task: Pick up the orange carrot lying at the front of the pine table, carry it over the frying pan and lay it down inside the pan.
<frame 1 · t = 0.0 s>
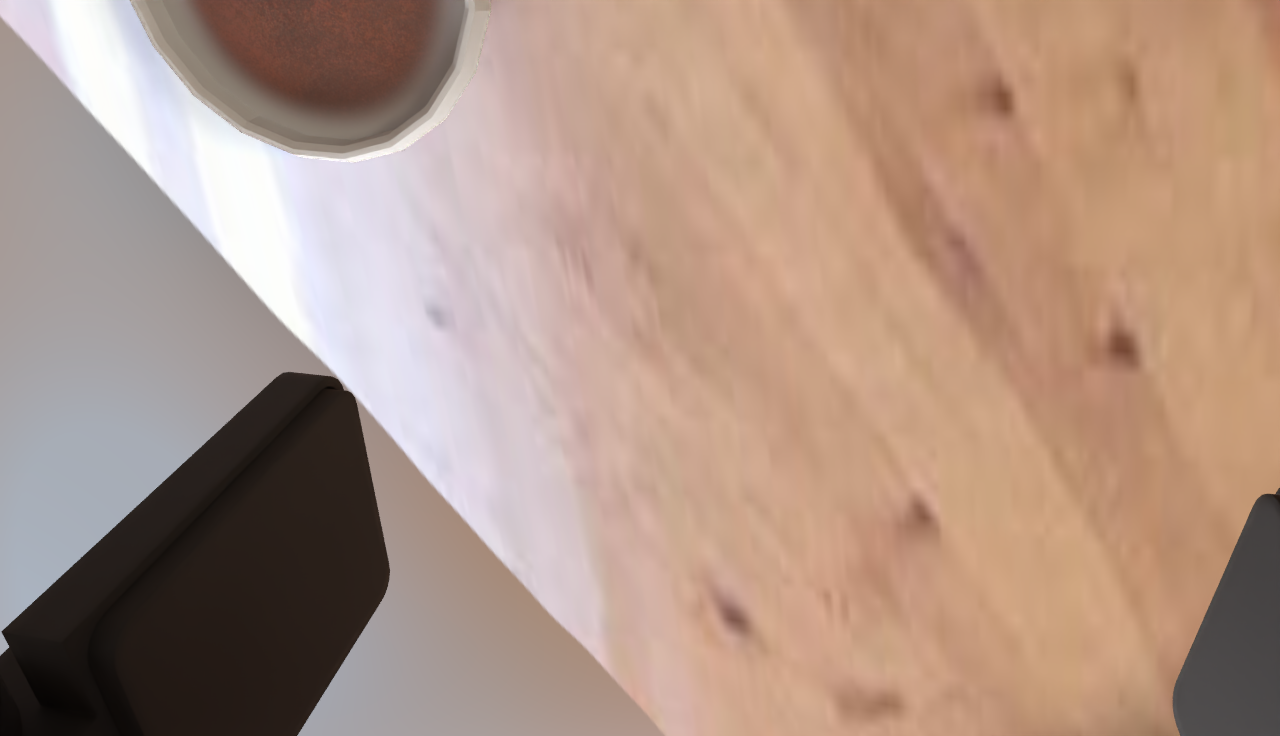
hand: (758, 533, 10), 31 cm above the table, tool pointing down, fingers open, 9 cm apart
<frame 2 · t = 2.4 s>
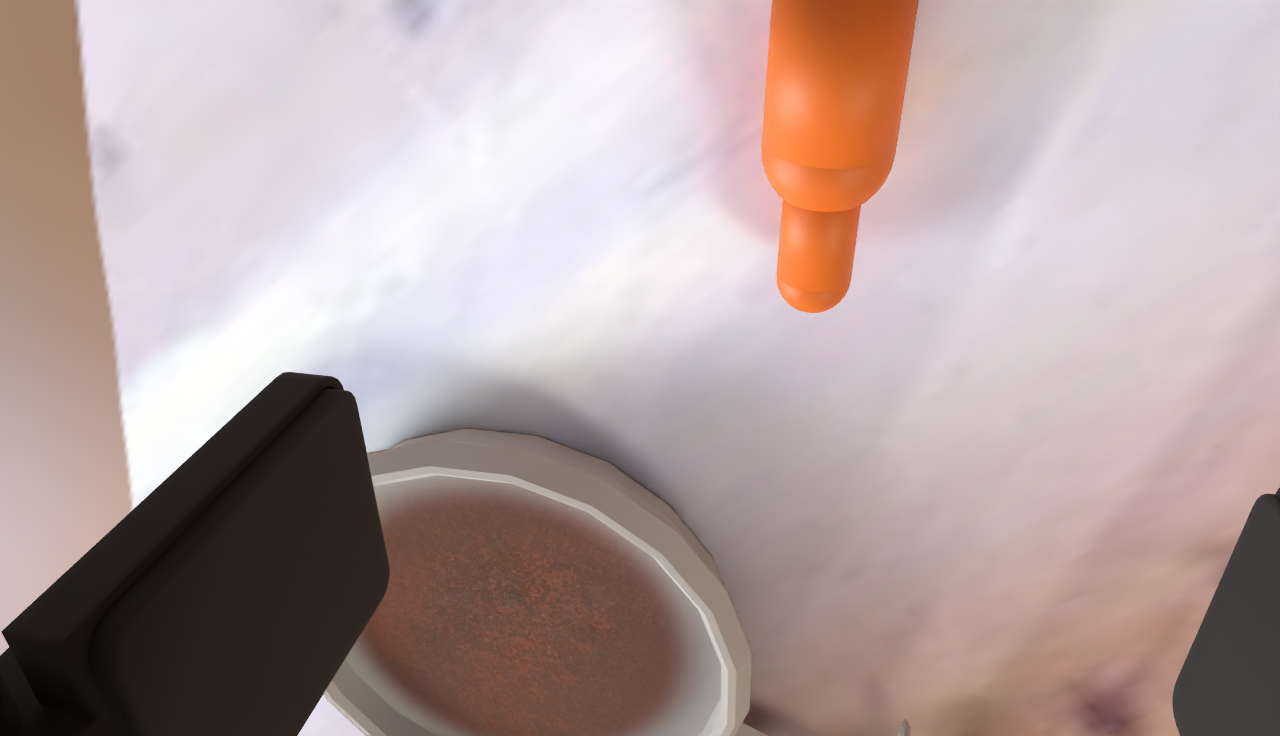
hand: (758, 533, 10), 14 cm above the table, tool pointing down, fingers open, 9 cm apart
frying pan: (658, 669, 33), on the table
carrot: (834, 96, 21), on the table
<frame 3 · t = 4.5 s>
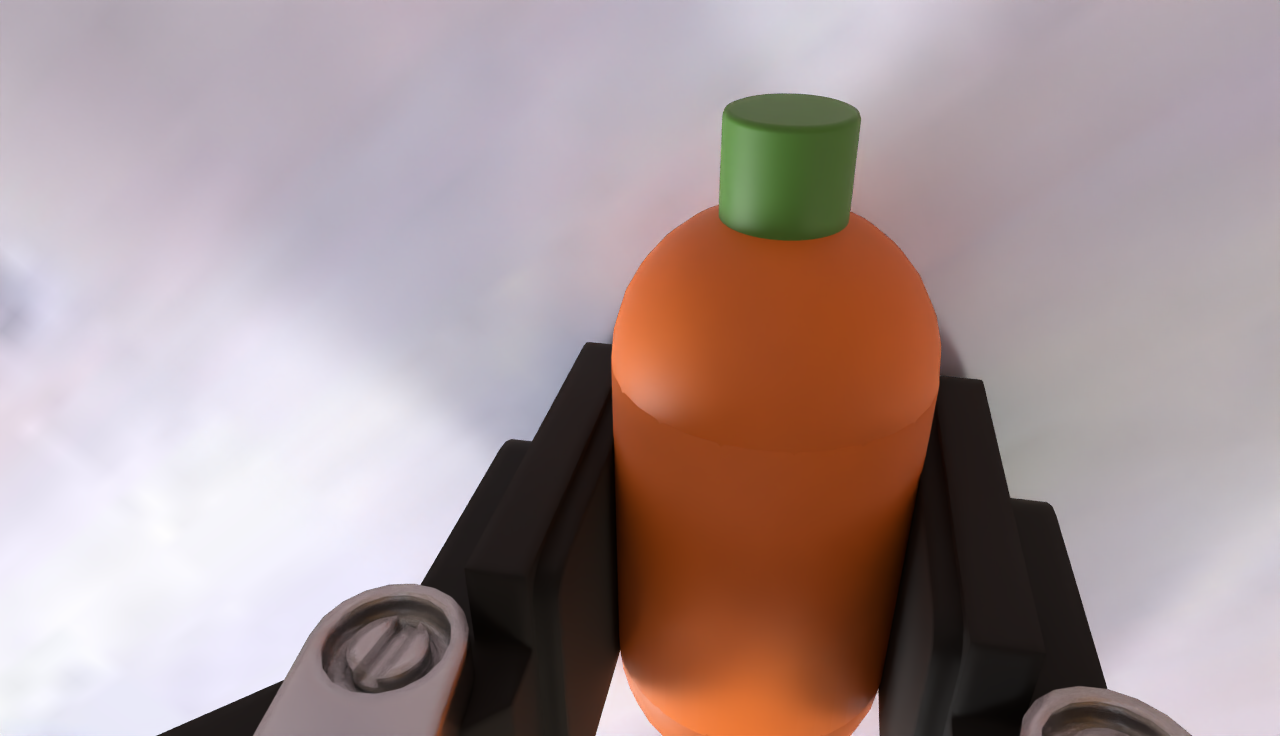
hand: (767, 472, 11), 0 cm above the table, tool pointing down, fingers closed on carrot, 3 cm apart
carrot: (766, 494, 11), on the table, touching gripper
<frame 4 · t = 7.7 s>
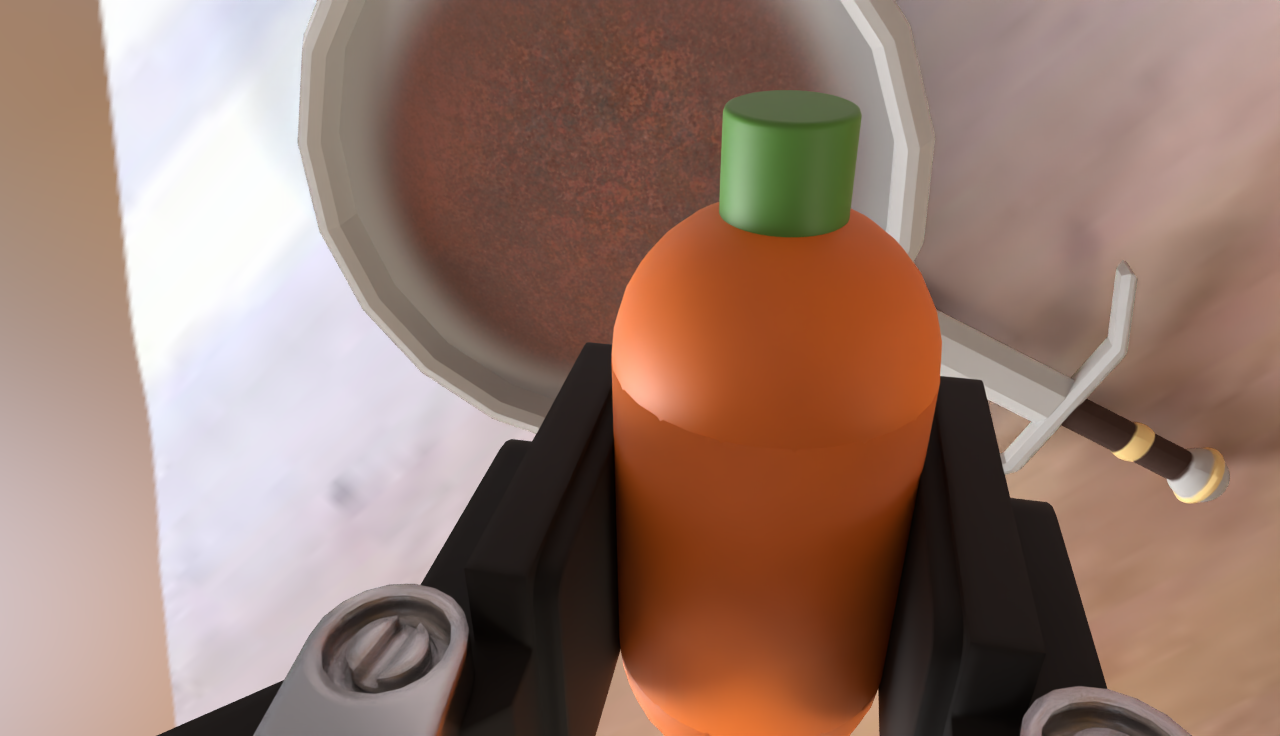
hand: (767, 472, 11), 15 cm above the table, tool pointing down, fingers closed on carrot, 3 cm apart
frying pan: (786, 248, 26), on the table
carrot: (766, 492, 11), point 15 cm above the table, touching gripper
when the fingers open (3 cm above the table, at t = 11.1 s): carrot stays where it is, resting on frying pan.
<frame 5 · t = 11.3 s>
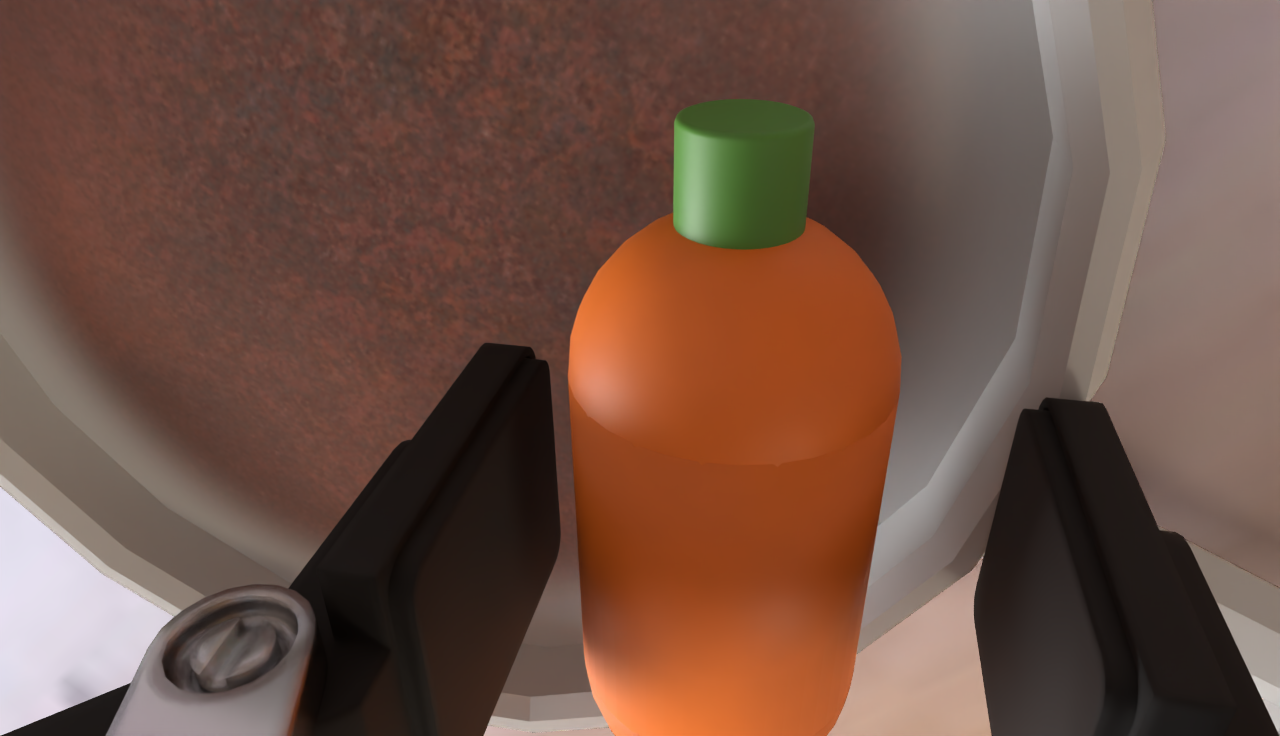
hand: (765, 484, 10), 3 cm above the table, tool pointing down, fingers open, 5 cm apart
frying pan: (791, 355, 13), on the table, touching carrot
carrot: (763, 508, 11), point 3 cm above the table, tilted 13°, touching frying pan
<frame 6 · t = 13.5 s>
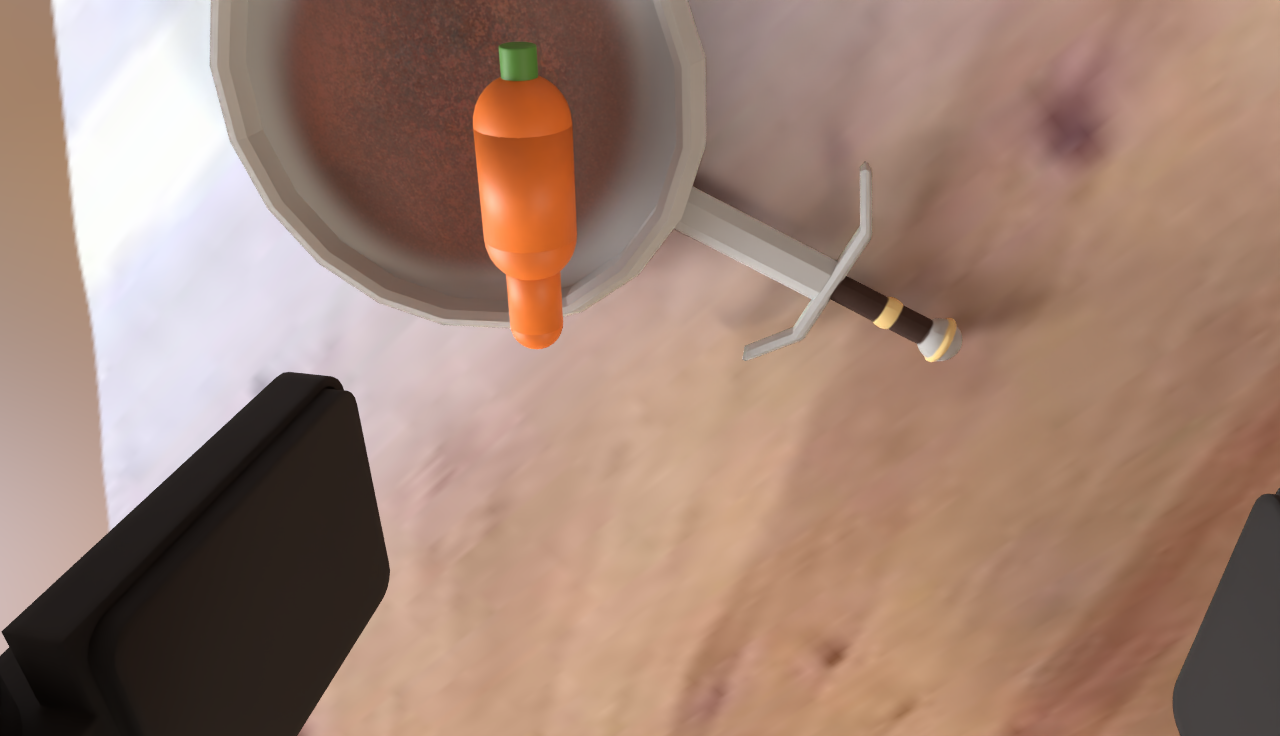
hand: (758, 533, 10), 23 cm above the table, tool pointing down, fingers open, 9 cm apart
frying pan: (613, 158, 32), on the table, touching carrot
carrot: (575, 208, 29), point 4 cm above the table, tilted 67°, touching frying pan
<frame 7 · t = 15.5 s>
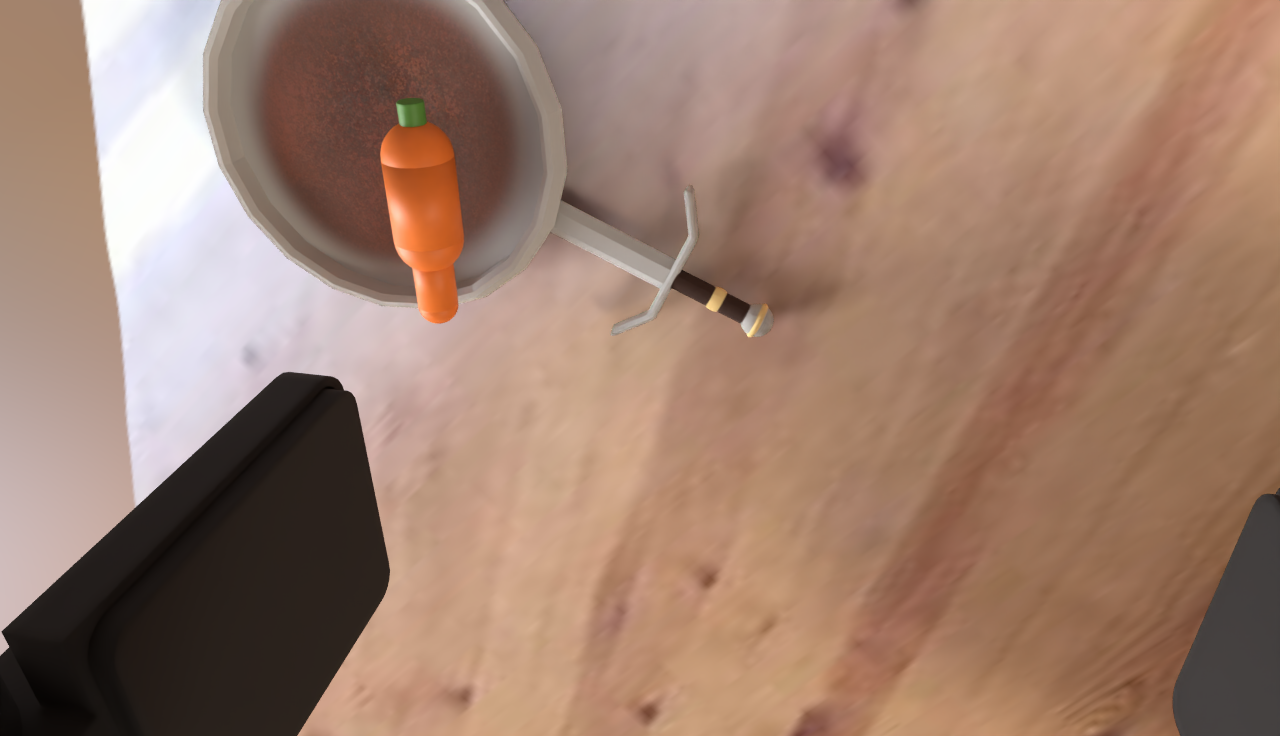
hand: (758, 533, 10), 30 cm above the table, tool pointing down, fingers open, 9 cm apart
frying pan: (508, 179, 41), on the table, touching carrot
carrot: (460, 221, 38), point 4 cm above the table, tilted 82°, touching frying pan
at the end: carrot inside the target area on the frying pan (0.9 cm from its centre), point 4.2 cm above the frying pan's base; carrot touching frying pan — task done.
